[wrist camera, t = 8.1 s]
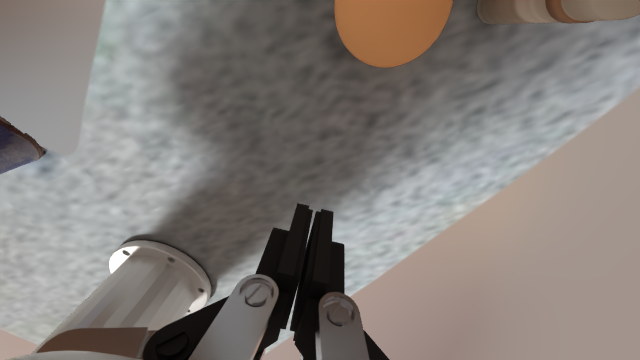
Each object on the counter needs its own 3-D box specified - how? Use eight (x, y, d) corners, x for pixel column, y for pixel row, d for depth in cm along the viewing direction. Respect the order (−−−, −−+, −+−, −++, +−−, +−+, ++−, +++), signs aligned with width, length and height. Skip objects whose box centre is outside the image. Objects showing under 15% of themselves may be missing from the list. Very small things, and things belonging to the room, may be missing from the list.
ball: (482, -119, 10) (420, -24, 16) (335, -109, 10) (326, -16, 16) (483, 38, 11) (424, 75, 17) (346, 49, 11) (334, 83, 17)
